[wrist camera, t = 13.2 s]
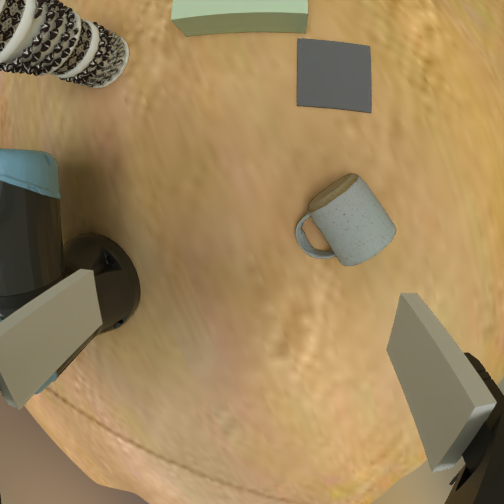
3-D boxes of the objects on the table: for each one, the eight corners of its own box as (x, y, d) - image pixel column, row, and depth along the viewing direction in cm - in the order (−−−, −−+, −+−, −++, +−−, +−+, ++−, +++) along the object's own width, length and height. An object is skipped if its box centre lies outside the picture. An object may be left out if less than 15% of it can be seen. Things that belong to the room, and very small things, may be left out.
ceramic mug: (349, 167, 35) (363, 170, 28) (386, 220, 36) (406, 236, 29) (280, 219, 38) (277, 234, 31) (320, 269, 39) (325, 294, 32)
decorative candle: (91, 32, 32) (-32, -16, 9) (141, 34, 32) (16, -40, 8) (72, 87, 35) (-65, 69, 11) (119, 93, 35) (-30, 62, 11)
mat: (296, 105, 33) (296, 105, 33) (297, 39, 31) (297, 38, 30) (370, 113, 33) (371, 112, 32) (369, 47, 30) (370, 46, 29)
